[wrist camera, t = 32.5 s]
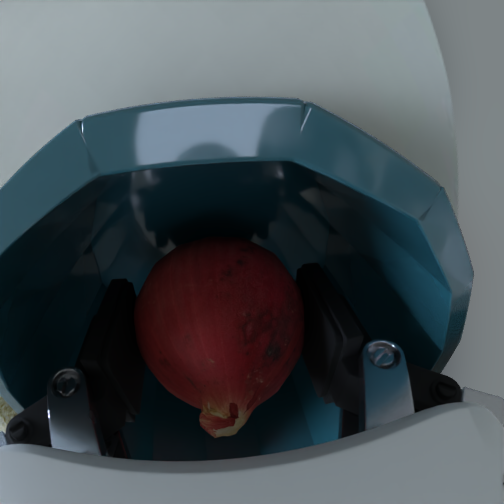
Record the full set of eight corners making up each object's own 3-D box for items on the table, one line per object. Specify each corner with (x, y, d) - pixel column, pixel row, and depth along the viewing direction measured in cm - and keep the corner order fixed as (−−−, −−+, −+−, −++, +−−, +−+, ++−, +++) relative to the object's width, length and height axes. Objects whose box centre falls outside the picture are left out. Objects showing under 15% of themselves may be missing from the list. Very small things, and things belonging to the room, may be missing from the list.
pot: (347, 112, 12) (524, 152, 4) (321, 329, 18) (377, 451, 10) (62, 132, 10) (-99, 198, 2) (119, 347, 17) (97, 480, 8)
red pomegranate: (231, 177, 11) (278, 308, 4) (299, 273, 14) (370, 415, 7) (126, 256, 12) (71, 414, 5) (204, 331, 15) (215, 475, 8)
